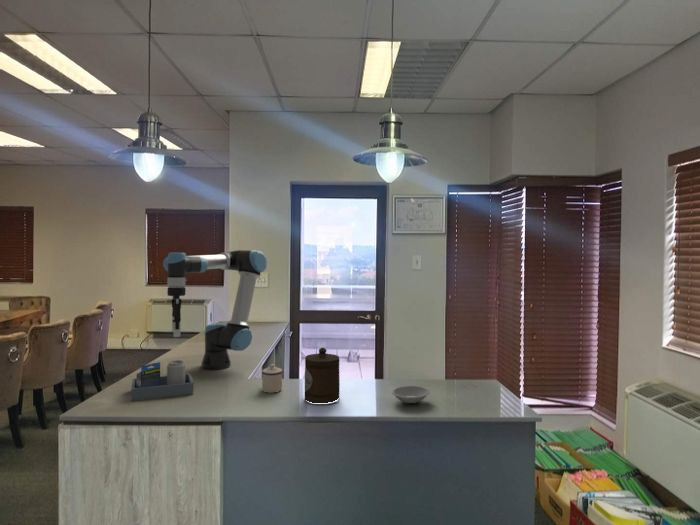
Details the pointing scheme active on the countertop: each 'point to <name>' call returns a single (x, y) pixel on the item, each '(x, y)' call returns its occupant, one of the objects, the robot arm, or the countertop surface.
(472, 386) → the countertop surface
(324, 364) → the wooden container
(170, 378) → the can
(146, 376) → the blue retail box
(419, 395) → the dish
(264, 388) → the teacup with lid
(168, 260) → the robot arm
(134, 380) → the tote
